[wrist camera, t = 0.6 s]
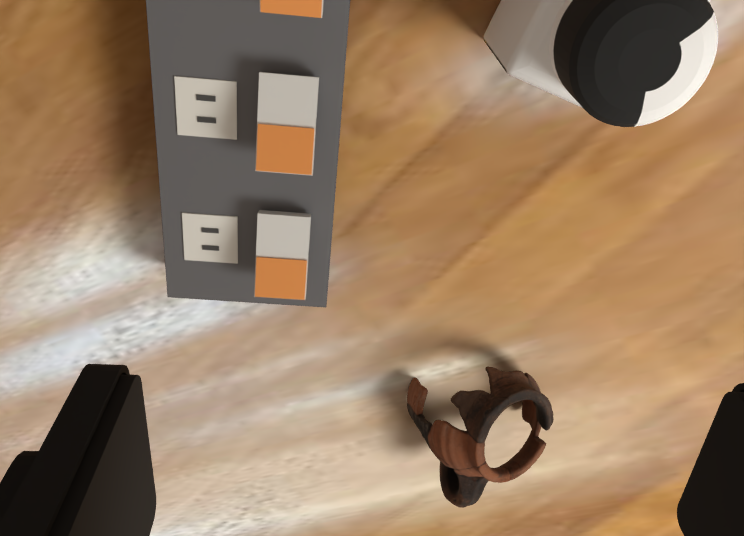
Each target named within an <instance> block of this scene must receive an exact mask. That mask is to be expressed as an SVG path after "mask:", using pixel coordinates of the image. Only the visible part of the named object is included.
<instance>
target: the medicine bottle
mask: <svg viewBox="0 0 744 536" xmlns="http://www.w3.org/2000/svg"><path fill="white" fill-rule="evenodd" d="M710 1H711V0H501V1H500V3H499V5H498V7H497V9H496V11H495V13H494V15H493V17H492V19H491V21H490V24H489V26H488V28H487V30H486V32H485V34H484V37H483V38H484V41H485V43H486V44H487V46H488V47H489V48H490V50H491V51H492V53H493V54H494V55H495V57H496V58H497V60H498V61H499V62H500V64H501V65H502V67H503V68H504V69H505V71H506V72H507V73H508V74H509V75H510V76H512V77H515V78H517V79H519V80H521V81H524V82H526V83H528V84H530V85H533V86H535V87H537V88H539V89H542V90H544V91H546V92H548V93H551V94H553V95H555V96H557V97H559V98H562V99H564V100H566V101H568V102H571V103H573V104H575V105H577V106H580V107H582V108H584V109H585V110H586V111H587V112H588V113H589V114H590V115H591V116H593V117H594V118H596V119H597V120H599V121H602V122H604V123H606V124H610V125H614V126H621V127H635V126H641V125H646V124H649V123H653V122H655V121H658V120H660V119H663V118H665V117H666V116H668V115H670V114H672V113H673V112H675V111H676V110H678V109H679V108H680V107H682V106H683V105H684V104H685V103H686V102H687V101H689V100H690V99H691V97H692V96H693V95H694V94H695V93H696V92H697V91H698V89H699V88H700V87H701V85H702V84H703V83H704V81H705V79H706V77H707V76H708V74H709V72H710V69H711V67H712V65H713V62H714V59H715V55H716V52H717V45H718V26H717V20H716V17H715V14H714V11H713V9H712V7H711V5H710V3H709V2H710Z"/></svg>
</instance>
